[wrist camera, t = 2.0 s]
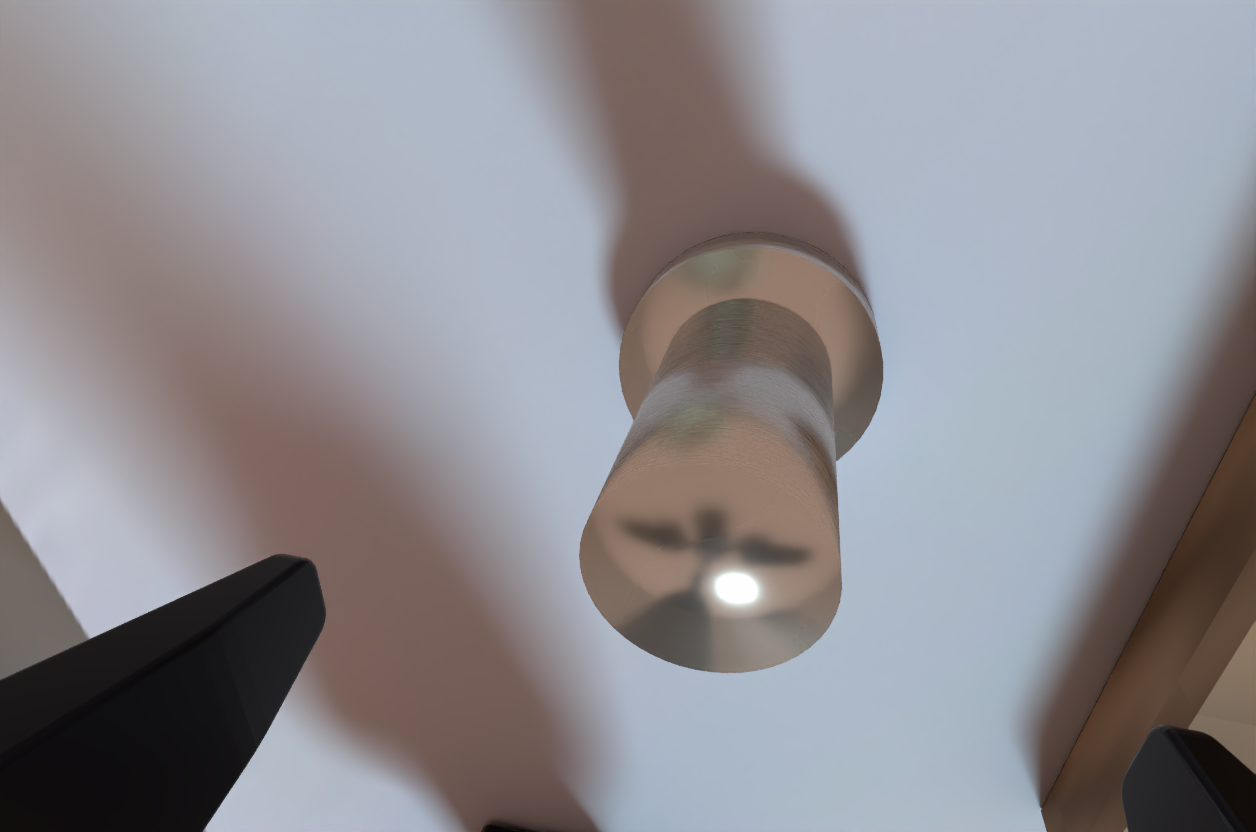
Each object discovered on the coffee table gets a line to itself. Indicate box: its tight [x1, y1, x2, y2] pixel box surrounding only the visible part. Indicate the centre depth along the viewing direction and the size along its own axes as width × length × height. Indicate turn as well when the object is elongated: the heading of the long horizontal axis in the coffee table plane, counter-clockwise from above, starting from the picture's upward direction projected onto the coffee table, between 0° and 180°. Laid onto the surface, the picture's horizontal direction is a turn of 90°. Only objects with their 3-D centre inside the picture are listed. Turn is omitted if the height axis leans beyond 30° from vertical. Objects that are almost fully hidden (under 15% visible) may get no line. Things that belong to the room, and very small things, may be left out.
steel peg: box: [579, 232, 883, 673], centre depth 12 cm, size 5×5×7 cm
